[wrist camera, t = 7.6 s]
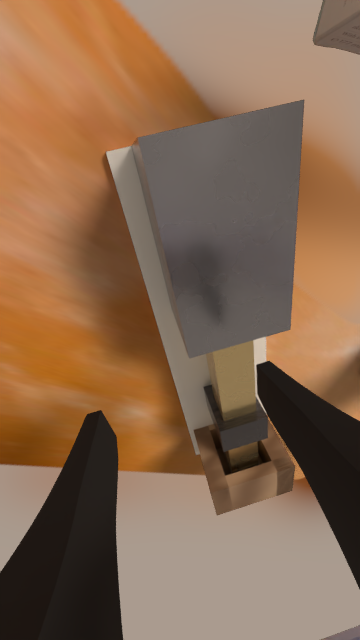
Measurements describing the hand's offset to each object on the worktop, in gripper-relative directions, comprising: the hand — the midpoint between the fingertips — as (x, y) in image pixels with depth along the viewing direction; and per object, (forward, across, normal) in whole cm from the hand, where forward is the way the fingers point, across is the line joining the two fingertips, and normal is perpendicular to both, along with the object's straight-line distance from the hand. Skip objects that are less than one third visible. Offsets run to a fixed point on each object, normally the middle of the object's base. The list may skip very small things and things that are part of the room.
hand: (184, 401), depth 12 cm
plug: (+9, -4, +9) cm, 13 cm away
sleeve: (+9, -4, -5) cm, 11 cm away
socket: (+9, -4, +18) cm, 21 cm away
